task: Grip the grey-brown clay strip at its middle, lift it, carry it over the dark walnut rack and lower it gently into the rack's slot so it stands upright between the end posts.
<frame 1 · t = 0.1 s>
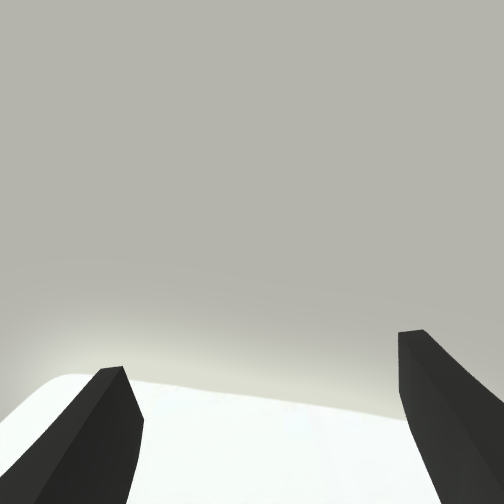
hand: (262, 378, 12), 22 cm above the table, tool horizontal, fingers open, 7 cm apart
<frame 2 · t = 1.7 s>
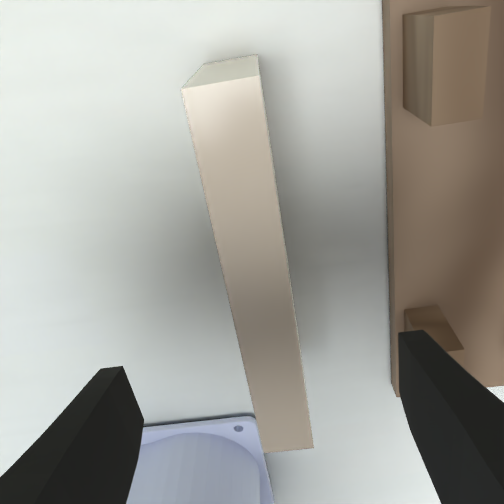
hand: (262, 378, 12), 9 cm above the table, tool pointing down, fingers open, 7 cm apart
walnut rack: (471, 199, 19), on the table
clay strip: (260, 228, 20), on the table
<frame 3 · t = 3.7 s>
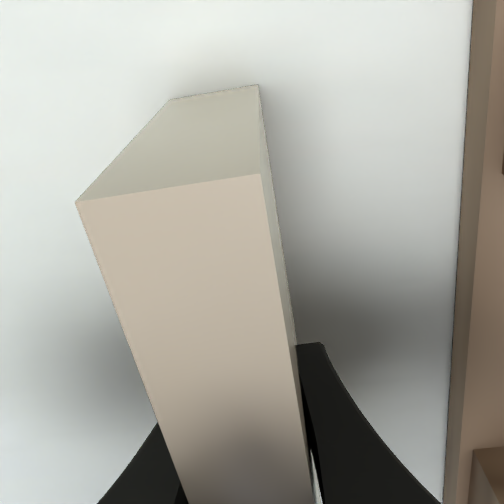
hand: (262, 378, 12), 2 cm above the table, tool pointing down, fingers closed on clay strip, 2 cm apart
clay strip: (261, 337, 13), on the table, touching gripper
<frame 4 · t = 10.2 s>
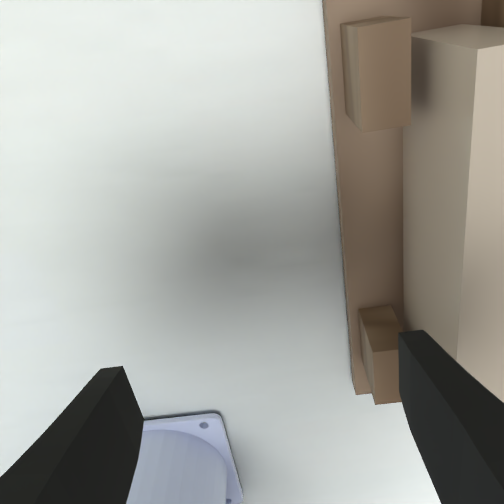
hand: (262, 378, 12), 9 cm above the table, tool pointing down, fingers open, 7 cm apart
walnut rack: (420, 201, 19), on the table
clay strip: (427, 215, 19), point 1 cm above the table, touching walnut rack
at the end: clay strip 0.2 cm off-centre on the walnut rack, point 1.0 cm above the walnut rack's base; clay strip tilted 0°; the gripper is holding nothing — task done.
